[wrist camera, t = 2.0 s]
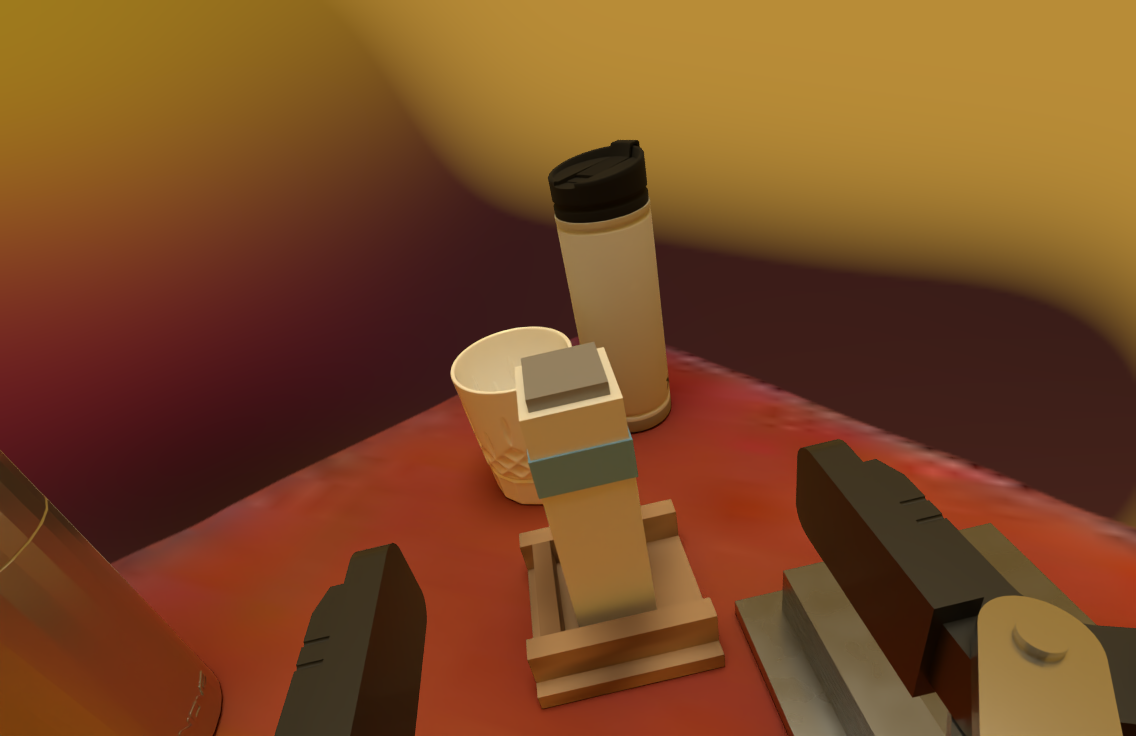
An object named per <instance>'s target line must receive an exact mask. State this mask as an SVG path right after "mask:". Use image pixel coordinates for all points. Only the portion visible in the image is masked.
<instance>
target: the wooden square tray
mask: <svg viewBox="0 0 1136 736" xmlns="http://www.w3.org/2000/svg"><path fill="white" fill-rule="evenodd" d="M640 507H641V513H642V519H643V526H644V532H645V538H646V544H647V551H648V557H649V563H650V569H651V575H652V582H653V588H654V594H655V600H656V606H657V610H653V611H649V612H644V613H640V614H636V615H631V616H627V617H623V618H618V619H614V620H610V621H605V622H601V623H597V624H593V625H588V626H584V627H580V628H579V625H578V622H577V618H576V615H575V612H574V608H573V605H572V601H571V598H570V594H569V591H568V588H567V584H566V581H565V577H564V574H563V570H562V567H561V564H560V560H559V557H558V553H557V550H556V546H555V543H554V540H553V536H552V533H551V529H550V527H547V528H542V529H538V530H534V531H529V532H525V533H521V534H519V540H520V549H521V552H522V555H523V558H524V561H525V563H526V566H527V569H528V579H529V592H530V605H531V618H532V631H533V638H532V639H528V640H526V647H527V660H528V663H529V665H530V668H531V670H532V673H533V676H534V678H535V681H536V683H537V696H538V700H539V702H540V705H541V707H542V709H544V708H548V707H552V706H556V705H561V704H565V703H569V702H574V701H578V700H582V699H587V698H591V697H595V696H599V695H604V694H608V693H612V692H617V691H621V690H625V689H629V688H634V687H638V686H642V685H647V684H651V683H655V682H659V681H664V680H668V679H672V678H677V677H681V676H685V675H689V674H694V673H698V672H702V671H707V670H711V669H715V668H720V667H724V666H725V658H724V653H723V650H722V647H721V645H720V642H719V634H718V619H717V614H716V611H715V609H714V606H713V604H712V601H711V599H710V597H709V598H705V599H703V598H702V595H701V593H700V590H699V588H698V585H697V582H696V580H695V577H694V575H693V572H692V569H691V567H690V564H689V562H688V559H687V556H686V554H685V551H684V549H683V546H682V543H681V541H680V538H679V536H678V527H677V518H676V511H675V509H674V506H673V504H672V501H671V499H669V500H665V501H660V502H656V503H652V504H647V505H643V506H640Z"/></svg>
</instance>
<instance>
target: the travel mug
mask: <svg viewBox="0 0 1136 736" xmlns="http://www.w3.org/2000/svg"><path fill="white" fill-rule="evenodd" d="M548 180H549V185H550V190H551V196H552V200H553V202H554V203H555V204H554V211H555V220H556V224H557V230H558V236H559V241H560V246H561V250H562V256H563V261H564V266H565V271H566V275H567V281H568V286H569V290H570V295H571V301H572V305H573V311H574V316H575V321H576V326H577V331H578V336H579V341H580V345H581V344H586V343H590V342H594V343H595V345H596V348H602V347H604V349H605V352H606V354H607V357H608V360H609V362H610V365H611V368H612V370H613V373H614V376H615V378H616V381H617V384H618V386H619V389H620V391H621V394H622V397H623V401H624V408H625V414H626V420H627V426H628V429H629V431H630V432H638V431H643V430H646V429H649V428H652V427H654V426H656V425H657V424H659V423H660V422H662V421H663V420H664V419H665V418H666V417H667V415H668V413H669V412H670V409H671V398H670V390H669V379H668V369H667V360H666V350H665V341H664V331H663V323H662V312H661V303H660V293H659V283H658V275H657V264H656V255H655V246H654V236H653V226H652V217H651V210H650V209H649V208H650V198H649V196H648V189H647V188H646V185H647V178H646V168H645V159H644V151H643V150H642V149H641V148H640V146H639V141H638V140H617V141H615V142H612V143H611V146H609V147H603V148H599V149H595V150H591V151H588V152H585V153H582V154H580V155H577V156H575V157H573V158H571V159H568V160H567V161H565V162H563V163H561V164H560V165H558V166H557V167H556V168H554V169H553V170H552V171H551V173H550V174H549V176H548Z"/></svg>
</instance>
